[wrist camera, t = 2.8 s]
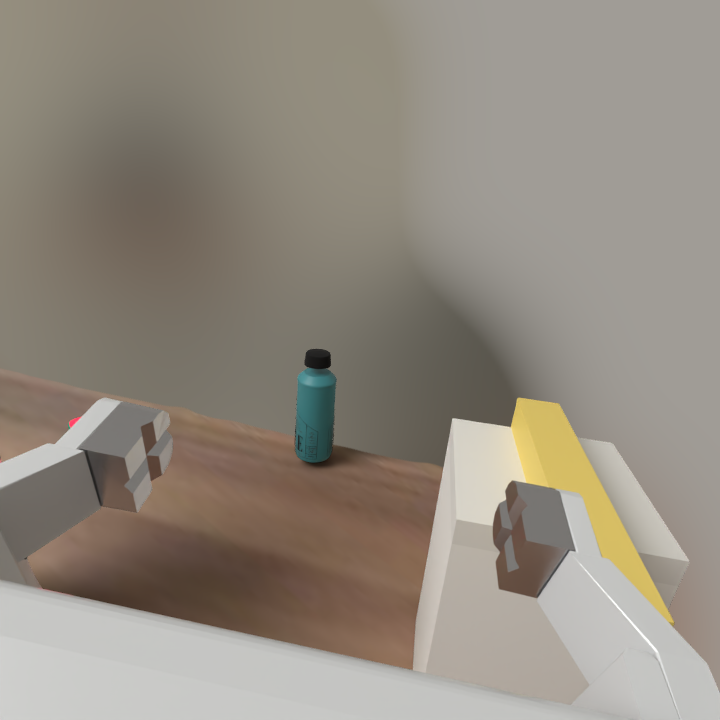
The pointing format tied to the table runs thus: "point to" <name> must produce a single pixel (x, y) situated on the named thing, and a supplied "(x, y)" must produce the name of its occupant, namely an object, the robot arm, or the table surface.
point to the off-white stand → (479, 575)
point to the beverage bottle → (315, 408)
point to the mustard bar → (577, 485)
